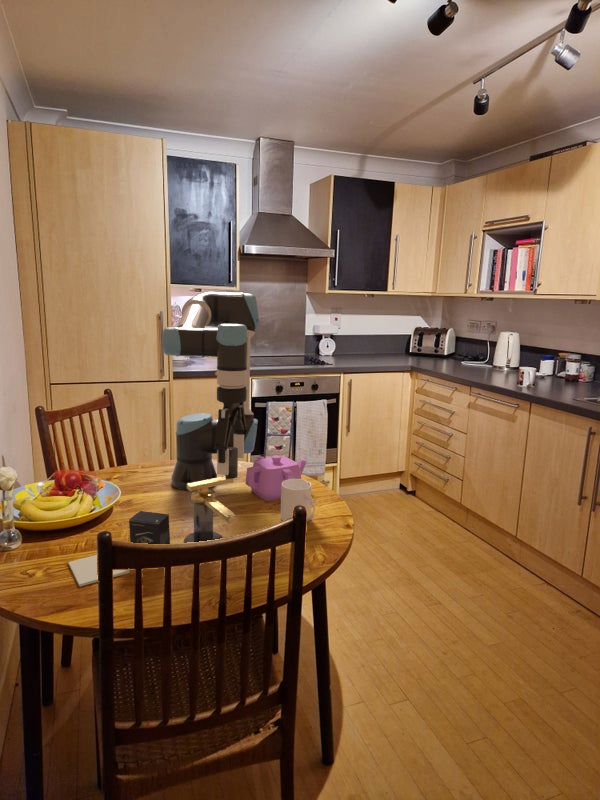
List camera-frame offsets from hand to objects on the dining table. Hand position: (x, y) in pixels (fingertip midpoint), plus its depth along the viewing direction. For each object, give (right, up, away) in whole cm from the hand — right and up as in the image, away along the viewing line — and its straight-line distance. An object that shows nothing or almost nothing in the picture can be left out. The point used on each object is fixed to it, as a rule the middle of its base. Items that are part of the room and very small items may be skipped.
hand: (231, 465), depth 135 cm
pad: (-29, -22, -15) cm, 39 cm away
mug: (+18, -18, +14) cm, 29 cm away
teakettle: (+10, -13, +35) cm, 39 cm away
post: (-7, -20, -1) cm, 21 cm away
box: (-19, -22, -8) cm, 30 cm away
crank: (-1, -9, -7) cm, 11 cm away
